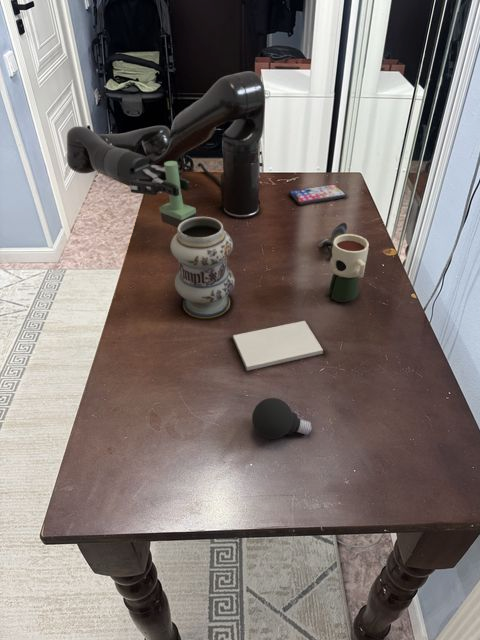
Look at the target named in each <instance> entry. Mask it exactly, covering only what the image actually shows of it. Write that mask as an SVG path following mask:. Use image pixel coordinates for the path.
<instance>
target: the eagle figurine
mask: <svg viewBox="0 0 480 640" xmlns="http://www.w3.org/2000/svg"><path fill="white" fill-rule="evenodd" d="M347 229H348V226H347V222H341V223H339V225H337V226H336V227H335V228H334V229H333V230H332V232H331V236H330V238H325V239H322V240H320V241H319V242H318V244H317V247H318V248H322V247H326V248H327V251H325V254H329V257H328V261H331V258H332V248H333V243H334V239H335V238H336V237H337V236H340V235H343V234H347Z"/></svg>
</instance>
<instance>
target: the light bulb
mask: <svg viewBox="0 0 480 640" xmlns="http://www.w3.org/2000/svg"><path fill="white" fill-rule="evenodd" d="M251 419H252V420H251V422H252V425H253V428H254V430H255V432H256V433H258V434H259V435H260V436H261V437H262V438H265V439H268V440H277V439H281V438H283V437H284V436H285V435H293V434H294V432H296V433H300V434H302V435H303V434H304V435H309V434H310V433H311V431H312V423H311V421H310V420H305V419H302V418H298V414H297V413H296V412H294V411H292V409H291V407H290V406H289V404H287V402H286V401H284V400H282V399H280V398H276V397H269V398H265V399H263V400H261V401H259V403H258V404H256V406H255V408H254V409H253V412H252V417H251Z"/></svg>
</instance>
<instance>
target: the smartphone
mask: <svg viewBox="0 0 480 640" xmlns="http://www.w3.org/2000/svg"><path fill="white" fill-rule="evenodd" d="M288 195H289V196H290V197H291V198H292V199H293V200H294V201H295V202H296V204H297V205H299V206H303V205H309V204H314V203H321V202H328V201H333V200H338V199H339V200H340V199H344V198H346V197H347V194H346V193H345V191H343V190H342V189H341V188H340V187H339V186H338V185H337V184H335V183H331V184H326V185H320V186H319V185H318V186H314V187H306V188H302V189H301V188H300V189H293V190H289V192H288Z"/></svg>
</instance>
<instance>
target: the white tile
mask: <svg viewBox="0 0 480 640" xmlns="http://www.w3.org/2000/svg"><path fill="white" fill-rule="evenodd" d="M232 340H233V343H234V344H235V347H236V349H237V352H238V354H239V356H240V358H241V361H242V362H243V365H244V367H245V370H246V371H247V372H248V371H252V370H257V369H261V368H266V367H269V366H274V365H278V364H283V363H288V362H292V361H296V360H301V359H305V358H306V359H307V358H309V357H314V356H318V355H323V354H324V349H323V348H322V346H321V344H320V342H319V341H318V339H317V338H316V336H315V334H314V333H313V331H312V329H311V328H310V326H309V325H308V323H307V322H306V320H302V321H296V322H291V323H285V324H282V325H277V326H272V327H267V328H262V329H258V330H252V331H248V332H243V333H238V334H233V335H232Z"/></svg>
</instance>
